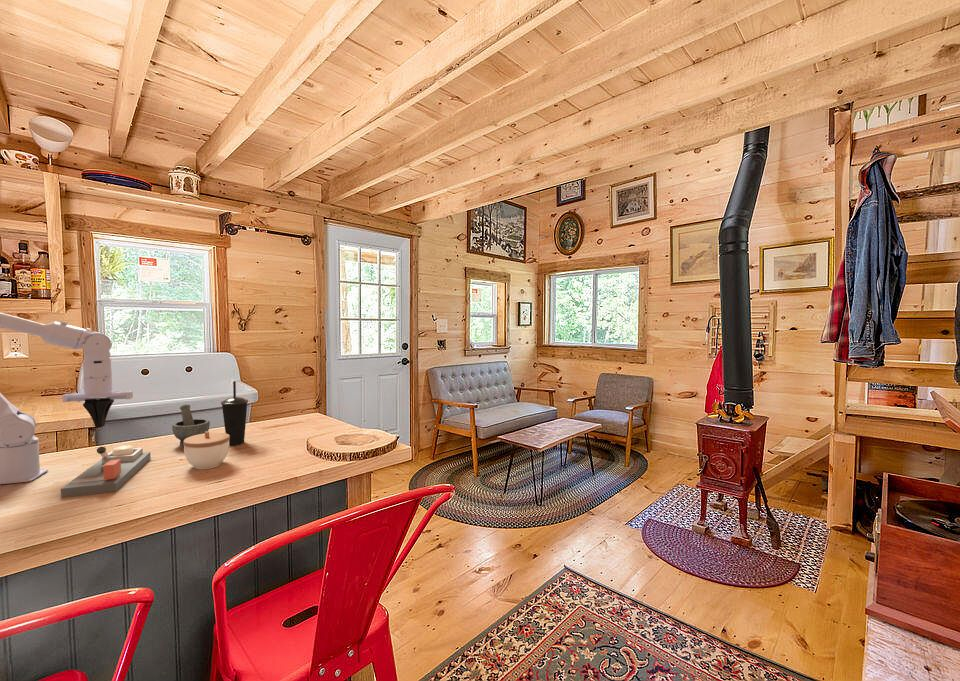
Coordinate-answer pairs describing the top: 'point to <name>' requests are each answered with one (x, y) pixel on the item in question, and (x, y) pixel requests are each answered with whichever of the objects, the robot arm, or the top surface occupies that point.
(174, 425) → the mortar and pestle
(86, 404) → the robot arm
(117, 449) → the push button
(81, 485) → the panel
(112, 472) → the slide paddle
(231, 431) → the drinking cup
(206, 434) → the lidded jar
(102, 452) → the toggle lever
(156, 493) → the top surface
